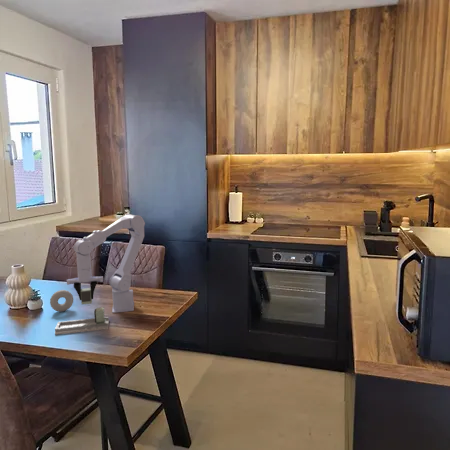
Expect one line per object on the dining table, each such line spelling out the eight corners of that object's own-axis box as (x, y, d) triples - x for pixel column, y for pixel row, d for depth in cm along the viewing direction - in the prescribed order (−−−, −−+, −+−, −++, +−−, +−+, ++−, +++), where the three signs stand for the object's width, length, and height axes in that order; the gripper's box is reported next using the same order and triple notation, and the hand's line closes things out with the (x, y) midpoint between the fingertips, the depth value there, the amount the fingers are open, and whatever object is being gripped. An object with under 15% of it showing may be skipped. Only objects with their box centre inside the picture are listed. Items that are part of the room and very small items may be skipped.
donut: (51, 314, 178) (49, 293, 176) (50, 312, 181) (48, 291, 179) (74, 310, 183) (73, 289, 181) (73, 308, 186) (71, 287, 184)
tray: (109, 320, 170) (107, 304, 169) (108, 329, 161) (106, 312, 160) (58, 325, 165) (57, 309, 164) (55, 334, 157) (53, 317, 156)
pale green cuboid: (82, 302, 173) (81, 288, 172) (92, 301, 174) (91, 288, 173) (81, 305, 170) (80, 291, 169) (91, 304, 171) (90, 290, 170)
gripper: (102, 264, 175) (104, 294, 177) (67, 267, 172) (70, 297, 174) (101, 268, 169) (103, 299, 171) (65, 271, 165) (67, 302, 167)
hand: (86, 298), depth 172 cm, fingers closed on pale green cuboid, 4 cm apart
